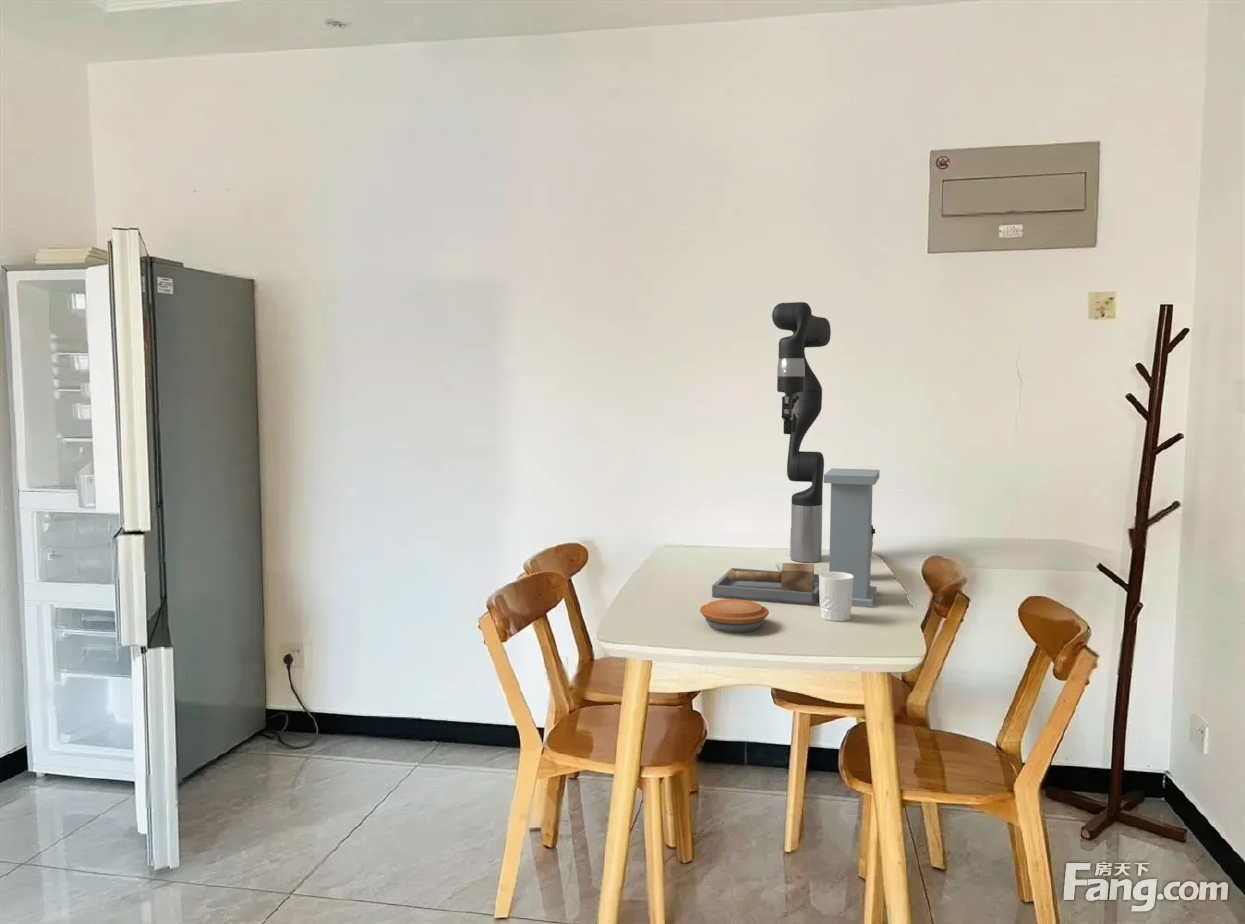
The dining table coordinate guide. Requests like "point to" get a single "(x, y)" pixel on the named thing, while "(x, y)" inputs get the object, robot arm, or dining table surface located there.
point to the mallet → (781, 577)
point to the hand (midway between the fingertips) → (790, 433)
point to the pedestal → (852, 528)
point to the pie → (734, 615)
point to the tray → (763, 590)
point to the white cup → (835, 595)
